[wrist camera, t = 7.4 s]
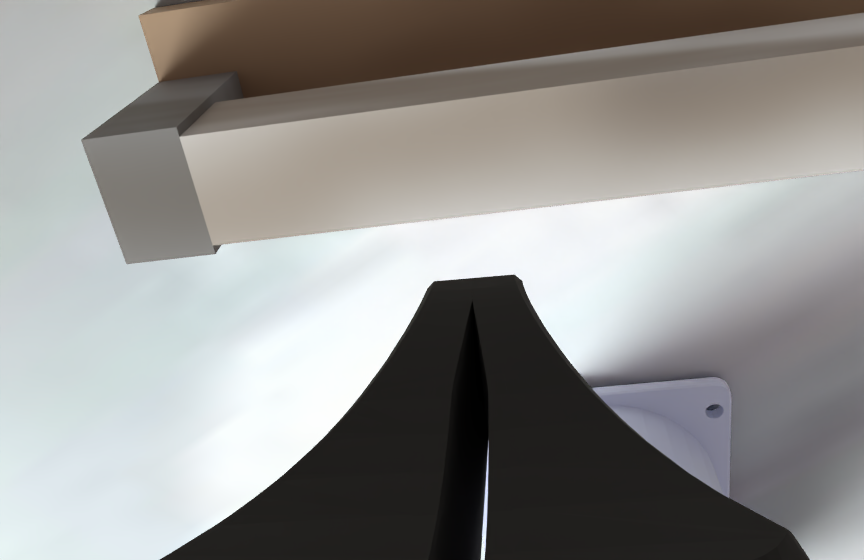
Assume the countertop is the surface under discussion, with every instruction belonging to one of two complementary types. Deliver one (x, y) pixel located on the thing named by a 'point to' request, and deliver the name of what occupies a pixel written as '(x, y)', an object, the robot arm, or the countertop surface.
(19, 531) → the countertop surface
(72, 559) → the countertop surface
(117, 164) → the pipe board
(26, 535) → the countertop surface
